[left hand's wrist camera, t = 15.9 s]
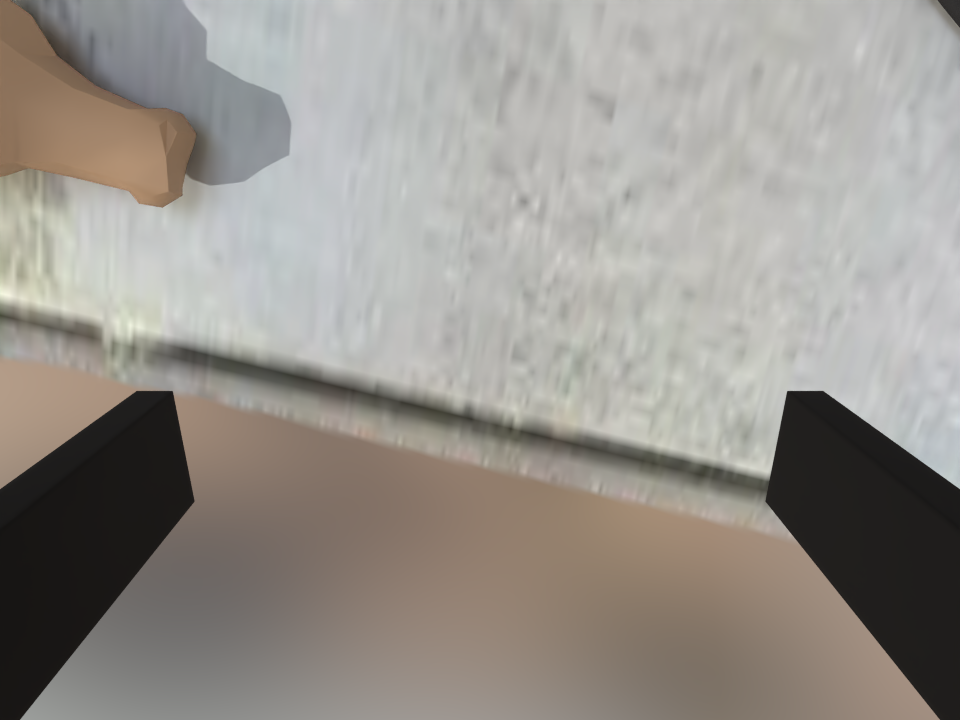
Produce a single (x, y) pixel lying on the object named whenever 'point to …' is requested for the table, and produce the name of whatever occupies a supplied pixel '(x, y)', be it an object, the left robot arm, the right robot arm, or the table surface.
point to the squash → (82, 122)
